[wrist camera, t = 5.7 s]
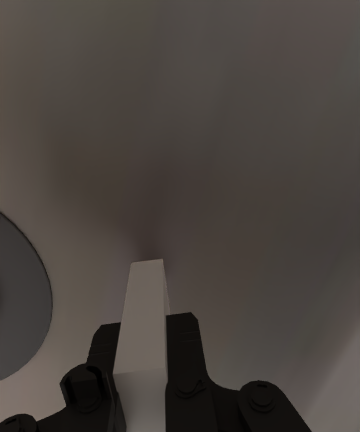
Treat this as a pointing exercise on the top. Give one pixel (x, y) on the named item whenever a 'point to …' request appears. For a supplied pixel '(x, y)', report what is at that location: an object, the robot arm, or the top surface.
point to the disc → (21, 300)
